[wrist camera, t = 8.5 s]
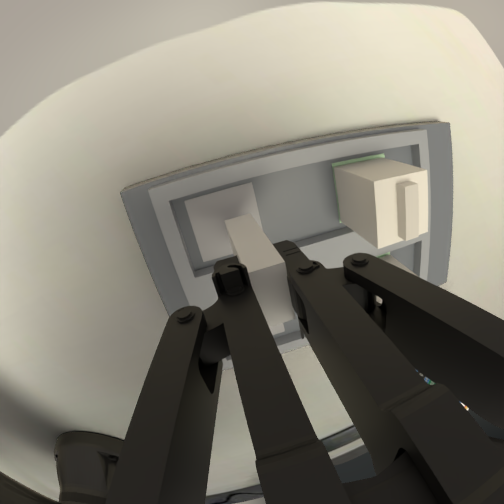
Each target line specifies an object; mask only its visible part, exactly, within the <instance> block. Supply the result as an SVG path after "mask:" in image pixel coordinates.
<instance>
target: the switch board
mask: <svg viewBox="0 0 504 504" xmlns="http://www.w3.org/2000/svg"><path fill="white" fill-rule="evenodd" d="M381 157H382V158H386V159H390V160H394V161H398V162H402V163H405V164H409V165H412V166H416V167H419V168H423V169H426V170H427V176H428V232H426V233H423V234H420V235H419V237H416V238H414V239H411V240H408V241H405V240H403V241H400V242H397V243H394V244H392V245H389V246H386V247H383V248H380V249H377V248H376V247H374V246H373V245H372V244H370V243H369V242H368V241H366V240H365V239H364V238H362V237H361V236H360V235H358V234H357V233H356V232H354V231H353V230H352V229H350V228H349V227H347V226H346V225H345V224H343V223H342V222H341V220H340V211H339V203H338V195H337V188H336V180H335V173H334V167H336V166H340V165H345V164H350V163H355V162H360V161H365V160H370V159H375V158H381ZM120 194H121V197H122V200H123V203H124V206H125V208H126V211H127V214H128V217H129V220H130V222H131V225H132V228H133V231H134V233H135V236H136V238H137V241H138V244H139V246H140V249H141V251H142V254H143V256H144V259H145V261H146V264H147V266H148V269H149V271H150V274H151V276H152V278H153V281H154V283H155V285H156V288H157V290H158V292H159V295H160V297H161V299H162V301H163V304H164V306H165V308H166V310H167V312H168V315H169V317H170V316H171V314H173V313H174V312H175V311H176V310H178V309H180V308H182V307H186V306H197V307H200V308H201V309H202V311H203V310H205V309H207V308H209V307H210V306H212V305H213V304H214V303H215V302H216V301H217V300H218V295H217V292H216V289H215V286H214V283H213V280H212V274H213V272H214V268H213V267H214V265H215V263H216V261H219V260H223V259H226V258H229V257H233V256H234V254H233V250H232V247H231V243H230V239H229V236H228V232H227V229H226V225H225V220H228V219H232V218H235V217H239V216H242V215H246V214H251V215H252V217H253V218H254V220H255V221H256V222H257V224H258V225H259V226H260V228H261V229H262V231H263V232H264V233H265V235H266V236H267V237H268V239H269V240H270V242H271V243H272V244H274V243H278V242H281V241H284V240H288V241H291V242H294V243H295V244H296V245H297V246H298V248H299V249H300V250H301V251H302V252H303V253H304V254H305V255H306V256H307V258H308V259H309V260H314V261H318V262H320V263H321V264H323V266H324V267H325V268H327V269H329V268H339V267H343V260H344V258H346V257H347V256H349V255H351V254H354V253H367V254H371V255H373V256H375V257H377V258H380V257H383V256H386V255H389V254H390V255H391V256H393V257H394V258H395V259H396V260H398V261H399V262H400V263H402V264H403V265H404V266H406V267H407V268H408V269H409V270H411V271H412V272H413V273H414V274H416V275H417V276H418V277H420V278H422V279H424V280H426V281H428V282H430V283H432V284H434V285H436V286H439V285H442V284H444V283H446V282H447V274H448V266H449V257H450V247H451V234H452V217H453V160H452V143H451V131H450V123H449V122H441V121H434V122H422V123H411V124H401V125H392V126H384V127H376V128H368V129H361V130H354V131H348V132H342V133H335V134H330V135H324V136H318V137H313V138H307V139H302V140H297V141H292V142H287V143H283V144H278V145H273V146H269V147H265V148H260V149H256V150H252V151H248V152H243V153H239V154H235V155H231V156H228V157H224V158H220V159H216V160H213V161H209V162H205V163H202V164H198V165H195V166H191V167H188V168H185V169H181V170H178V171H175V172H171V173H168V174H165V175H162V176H159V177H156V178H153V179H149V180H146V181H143V182H141V183H138V184H135V185H132V186H129V187H126V188H124V189H123V190H122V191H121V192H120ZM294 313H295V318H296V319H293V320H290V321H287V322H284V323H281V324H278V325H275V326H272V327H269V328H270V331H271V333H272V335H273V338H274V340H275V342H276V345H277V347H278V349H279V352H280V354H283V353H286V352H289V351H292V350H295V349H298V348H301V347H304V346H307V345H310V344H309V342H308V340H307V338H306V337H305V335H304V339H302V338H301V333H300V327H299V321H298V315H297V314H296V312H295V310H294ZM222 361H223V368H222V371H224V370H227V369H231V368H234V367H233V363H232V359H231V355H229V356H228V357H226V358H224V359H222Z"/></svg>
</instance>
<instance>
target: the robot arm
mask: <svg viewBox="0 0 504 504" xmlns="http://www.w3.org/2000/svg"><path fill="white" fill-rule="evenodd" d="M225 225H226V229H227V232H228V236H229V239H230V243H231V247H232V250H233V254H234V256H233V257H229V258H226V259H223V260H219V261H216V263H215V265H214V267H213V268H214V272H213V274H212V280H213V283H214V286H215V289H216V292H217V295H218V300H217V301H216V302H215V303H214V304H213V305H212V306H210V307H209V308H207V309H205V310H203V311H202V309H201V308H200V307H197V306H186V307H182V308H180V309H178V310H176V311H175V312H174V313H173V314H171V316H170V317H169V319H168V322H167V324H166V327H165V329H164V332H163V334H162V337H161V339H160V342H159V345H158V347H157V350H156V352H155V355H154V358H153V360H152V363H151V366H150V368H149V371H148V374H147V377H146V379H145V382H144V385H143V388H142V390H141V393H140V396H139V399H138V402H137V405H136V407H135V410H134V413H133V416H132V419H131V422H130V425H129V428H128V431H127V434H126V437H125V440H124V441H122V440H119V439H116V438H112V437H109V436H105V435H100V434H95V433H88V432H68V433H64V434H62V435H60V436H59V437H58V438H57V441H56V445H55V450H54V456H55V460H56V466H57V475H58V480H59V486H60V495H59V502H57V501H55V500H52V499H50V498H48V497H46V496H44V495H42V494H40V493H38V492H36V491H34V490H32V489H30V488H28V487H26V486H24V485H23V484H21V483H19V482H17V481H15V480H14V479H12V478H10V477H9V476H7V475H5V474H4V473H2V472H0V504H205V498H206V489H207V481H208V473H209V465H210V458H211V450H212V442H213V434H214V427H215V419H216V412H217V404H218V397H219V390H220V382H221V375H222V368H223V361H222V359H224V358H226V357H228V356H229V355H231V359H232V363H233V367H234V371H235V376H236V380H237V384H238V388H239V392H240V396H241V400H242V404H243V408H244V412H245V416H246V420H247V424H248V428H249V432H250V435H251V439H252V443H253V447H254V450H255V454H256V469H257V473H258V477H259V480H260V484H261V487H262V491H263V494H264V498H265V501H266V504H504V440H502V439H497V438H492V437H488V436H487V435H486V433H485V432H484V431H483V429H482V428H481V427H480V426H479V424H478V423H477V422H476V421H475V420H474V418H473V417H472V416H471V415H470V413H469V412H468V411H467V410H466V409H465V407H464V406H463V405H462V404H461V403H463V404H464V405H465V406H467V407H468V408H470V409H471V410H472V411H474V412H475V413H476V414H478V415H479V416H480V417H482V418H484V419H485V420H487V421H488V422H490V423H491V424H493V425H495V426H497V427H499V428H502V429H504V320H502V319H500V318H498V317H496V316H495V315H493V314H491V313H489V312H487V311H485V310H483V309H481V308H479V307H478V306H476V305H474V304H472V303H470V302H468V301H466V300H464V299H462V298H460V297H458V296H456V295H454V294H452V293H450V292H448V291H446V290H444V289H442V288H440V287H438V286H436V285H434V284H432V283H430V282H428V281H426V280H424V279H422V278H420V277H418V276H416V275H414V274H411V273H409V272H407V271H405V270H403V269H401V268H399V267H397V266H395V265H392V264H390V263H388V262H386V261H384V260H382V259H380V258H377V257H375V256H373V255H371V254H367V253H354V254H351V255H349V256H347V257H346V258H344V260H343V267H339V268H329V269H327V268H325V267H324V266H323V264H321V263H320V262H318V261H314V260H309V259H308V258H307V256H306V255H305V254H304V253H303V252H302V251H301V250H300V249H299V248H298V246H297V245H296V244H295V243H294V242H291V241H288V240H284V241H281V242H278V243H274V244H272V243H271V242H270V240H269V239H268V237H267V236H266V235H265V233H264V232H263V231H262V229H261V228H260V226H259V225H258V224H257V222H256V221H255V220H254V218H253V217H252V215H251V214H246V215H242V216H239V217H235V218H232V219H228V220H225ZM376 296H378V297H380V298H381V299H382V304H381V303H379V302H377V301H376ZM294 310H295V312H296V314H297V315H298V321H299V327H300V333H301V338H302V339H304V335H305V337H306V338H307V340H308V342H309V344H310V346H311V347H312V349H313V351H314V353H315V355H316V356H317V358H318V360H319V362H320V364H321V365H322V367H323V369H324V371H325V373H326V375H327V376H328V378H329V380H330V382H331V384H332V385H333V387H334V389H335V391H336V393H337V394H338V396H339V398H340V400H341V402H342V404H343V405H344V407H345V409H346V411H347V413H348V414H349V416H350V418H351V420H352V422H353V424H354V425H355V427H356V429H357V431H358V433H359V434H360V436H361V438H362V440H363V442H364V444H365V445H366V447H367V449H368V451H369V453H370V455H371V458H372V461H373V466H374V470H375V473H376V475H377V476H375V477H372V478H368V479H363V480H359V481H354V482H349V483H341V481H340V479H339V476H338V474H337V472H336V470H335V467H334V465H333V463H332V461H331V459H330V456H329V454H328V452H327V450H326V448H325V446H324V444H323V443H322V441H320V440H319V439H318V438H317V436H316V434H315V432H314V429H313V427H312V425H311V423H310V420H309V418H308V416H307V414H306V411H305V409H304V407H303V405H302V402H301V400H300V398H299V395H298V393H297V391H296V388H295V386H294V384H293V382H292V379H291V377H290V375H289V372H288V370H287V368H286V365H285V363H284V361H283V359H282V356H281V354H280V352H279V349H278V347H277V345H276V342H275V340H274V338H273V335H272V333H271V331H270V328H269V327H272V326H275V325H278V324H281V323H284V322H287V321H290V320H293V319H296V318H295V313H294ZM416 370H417V371H419V372H420V373H421V374H423V375H424V376H426V377H427V378H428V379H430V380H431V381H432V382H434V383H435V384H433V385H430V384H428V383H427V382H426V381H425V380H424V379H423V378H422V377H421V375H420V374H419V373H418V372H417V371H416ZM460 402H461V403H460Z"/></svg>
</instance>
